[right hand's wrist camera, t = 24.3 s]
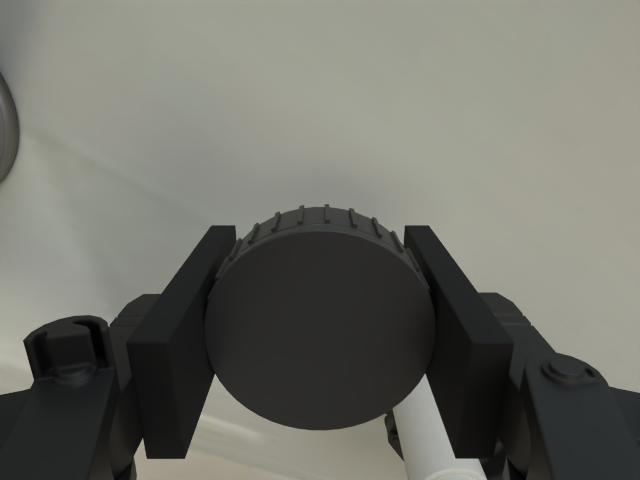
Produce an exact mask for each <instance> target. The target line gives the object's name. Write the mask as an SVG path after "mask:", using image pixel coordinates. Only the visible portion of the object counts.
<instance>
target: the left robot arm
mask: <svg viewBox="0 0 640 480" xmlns="http://www.w3.org/2000/svg"><path fill="white" fill-rule="evenodd" d="M386 414H387V416H386V417H385V419H384V421H385V425H386V429H387V434H388V442H389V444H390V445H391V446H392V447H393V449H394V450H395V451H396V452H397V454H398V455H399V456H400V457H401V459H402V460H403V461H404V458H403V453H402V449H401V444H400V440H399V435H398V431H397V427H396V422H395V418H394V413H393V409H391V410H390V411H388V412H386ZM506 456H507V454H506V452H505V450H504V448H503V446H502V444H501V442H500V440H499V438H498V436H497V442H496V447H495V452H494V458H493V459H479V462H480V464H481V466H482V469H483V471H484V474H485V476H486V478H487V480H502V476H503V471H504V466H505V461H506Z"/></svg>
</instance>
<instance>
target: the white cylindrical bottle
mask: <svg viewBox="0 0 640 480" xmlns="http://www.w3.org/2000/svg"><path fill="white" fill-rule="evenodd" d="M393 413H394V418H395V422H396V427H397V431H398V435H399V440H400V444H401V449H402V453H403V458H404V462H405V467H406V471H407V476H408V480H487V478H486V476H485V474H484V471H483V469H482V466H481V464H480V462H479V459H455V456H454V453H453V450H452V447H451V445H450V442H449V439H448V436H447V433H446V430H445V428H444V425H443V422H442V419H441V416H440V414H439V411H438V408H437V405H436V402H435V400H434V397H433V394H432V391H431V388H430V385H429V383H428V380H427V377H426V374H424V376H423V378H422V379H421V381H420V383H419V384H418V385H417V386H416V387H415V389H414V390H413V391H412V392H411V393H410V394H409V395H408V396H407V397H406V398H405V399H404V400H403V401H402V402H401V403H399V404H398V405H397V406H395V407H394V408H393Z"/></svg>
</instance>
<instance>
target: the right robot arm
mask: <svg viewBox="0 0 640 480" xmlns="http://www.w3.org/2000/svg"><path fill="white" fill-rule="evenodd" d="M18 137H19V128H18V118H17V113H16V108H15V104H14V101H13V98H12V95H11V93H10V91H9V88H8V86H7V84H6V82H5V80H4V78H3V76H2V74H1V73H0V182H1V181H2V180H3V179H4V177H5V176H6V175H7V173H8V171H9V170H10V168H11V166H12V164H13V161H14V159H15V155H16V152H17V147H18ZM235 244H236V229H235V226H211V227H210V228H209V230H208V231H207V233H206V234H205V235H204V237H203V238H202V239H201V241H200V242H199V243H198V245H197V246H196V247H195V249H194V250H193V252H192V253H191V254H190V256H189V257H188V258H187V260H186V261H185V262H184V264H183V265H182V267H181V268H180V269H179V271H178V272H177V273H176V275H175V276H174V277H173V279H172V280H171V282H170V283H169V284H168V286H167V287H166V288H165V290H164V291H163V292H162V294H143V295H142V296H140V297H138V298H137V299H135V300H133V301H132V302H130V303H128V304H127V305H126V306H125V308H124V309H123V310H122V311H121V312H120V313H119V315H118V317H116V318H115V319H114V320H113V322H112V323H111V324H110V327H108V324H107V322H106V321H105V320H103V319H102V318H101V317H96V316H91V315H85V316H72V317H68V318H63V319H59V320H56V321H53V322H51V323H48V324H45V325H43V326H41V327H40V328H38V329H36V330H34V331H33V332H31V333H30V334H29V335H28V336H27V337H26V338H25V339H24V340H23V342H24V346H25V349H26V353H27V356H28V360H29V363H30V367H31V371H32V374H33V378H34V382H33V384H32V386H31V388H30V389H27V390H23V391H18V392H13V393H8V394H3V395H0V480H136V477H137V474H136V466H135V461H134V455H135V453H136V451H137V448H138V446H139V444H140V442H141V440H142V438H143V440H144V445H145V451H146V456H147V459H185V457H186V454H187V451H188V448H189V445H190V443H191V440H192V437H193V434H194V431H195V428H196V426H197V423H198V420H199V417H200V414H201V412H202V409H203V406H204V403H205V400H206V397H207V395H208V392H209V389H210V386H211V383H212V381H213V378H214V375H215V372H214V370H213V368H212V366H211V363H210V361H209V359H208V355H207V351H206V346H205V336H204V316H205V312H206V307H207V303H208V302H207V298H208V296H209V294H210V292H211V290H212V288H213V286H214V284H215V282H216V281H215V280H214V279H215V277H216V275H217V273H218V271H219V269H220V267H221V265H222V263H223V262H224V260H225V258H226V256H227V257H229V256H230V254H231V252H232V250H233V248H234V246H235ZM404 248H405V249H407V248H409V249H410V250H411V252H412V254H413V256H414V258H415V260H416V262H417V264H418V266H419V268H420V269H421V272H422V274H423V276H424V278H425V280H426V281H427V283H428V285H429V287H430V290H431V292H429V294H430V297H431V300H432V303H433V306H434V310H435V315H436V322H437V329H436V339H435V348H434V353H433V356H432V360H431V362H430V364H429V367H428V369H427V371H426V373H425V374H426V377H427V380H428V383H429V385H430V388H431V391H432V394H433V397H434V400H435V402H436V405H437V408H438V411H439V414H440V416H441V419H442V422H443V425H444V428H445V430H446V433H447V436H448V439H449V442H450V445H451V447H452V450H453V453H454V456H455V459H493V458H494V452H495V447H496V442H497V436H498V438H499V440H500V442H501V444H502V446H503V448H504V450H505V452H506V454H507V456H506V461H505V466H504V471H503V476H502V480H640V393H637V392H632V391H627V390H622V389H617V388H613V387H609V385H608V383H607V382H606V380H605V379H604V377H603V376H602V375H601V374H600V373H599V371H598V370H596V369H595V368H593V367H592V366H590V365H589V364H587V363H586V362H583V361H581V360H579V359H576V358H574V357H572V356H568V355H564V354H559V353H556V352H555V351H554V350H553V348H552V347H551V346H550V345H549V344H548V343H547V341H546V340H545V339H544V338H543V337H542V336H541V335H540V333H539V332H538V331H537V330H536V329H535V328H534V326H531V323H530V322H529V321H528V319H527V318H526V317H525V316H523V314H522V312H521V311H520V310H519V309H518V308H517V307H516V305H515V304H514V303H513V302H511V301H510V300H508V299H506V298H505V297H503V296H501V295H500V294H498V293H478V292H477V291H476V289H475V288H474V287H473V285H472V284H471V282H470V281H469V280H468V278H467V277H466V276H465V274H464V273H463V272H462V270H461V269H460V268H459V266H458V265H457V263H456V262H455V261H454V259H453V258H452V257H451V255H450V254H449V253H448V251H447V250H446V248H445V247H444V246H443V244H442V243H441V242H440V240H439V239H438V238H437V236H436V235H435V233H434V232H433V231H432V229H431V228H430V227H429V226H405V233H404Z"/></svg>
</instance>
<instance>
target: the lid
mask: <svg viewBox="0 0 640 480" xmlns="http://www.w3.org/2000/svg"><path fill="white" fill-rule="evenodd" d="M214 280H215V281H216V282H215V284H214V286H213V288H212V290H211V292H210V294H209V296H208V298H207V302H208V303H207V307H206V312H205V316H204V336H205V346H206V351H207V355H208V359H209V361H210V363H211V366H212V368H213V370H214V372H215V374H216V375H217V377H218V379H219V381H220V382H221V383H222V384H223V386H224V387H225V388H226V390H227V391H228V392H229V393H230V394H231V395H232V396H233V397H234V398H235V399H236V400H237V401H238V402H240V403H241V404H242V405H244V406H245V407H246V408H248V409H249V410H251V411H252V412H254V413H256V414H257V415H259V416H261V417H263V418H266V419H268V420H270V421H272V422H275V423H278V424H281V425H284V426H289V427H293V428H298V429H306V430H334V429H342V428H347V427H352V426H356V425H359V424H362V423H365V422H368V421H370V420H373V419H375V418H377V417H379V416H381V415H383V414H385V413H386V412H388V411H390V410H391V409H393V408H394V407H395V406H397V405H398V404H399V403H401V402H402V401H403V400H404V399H405V398H406V397H407V396H408V395H409V394H410V393H411V392H412V391H413V390H414V389H415V387H416V386H417V385H418V384H419V383H420V381H421V379H422V378H423V376H424V374H425V373H426V371H427V369H428V367H429V364H430V362H431V360H432V356H433V353H434V348H435V339H436V329H437V322H436V315H435V310H434V306H433V303H432V300H431V297H430V294H429V292H431V290H430V287H429V285H428V283H427V281H426V280H425V278H424V276H423V274H422V272H421V269H420V268H419V266H418V264H417V262H416V260H415V258H414V256H413V254H412V252H411V250H410V249H409V248H407V249H405V248H404V246H403V245H402V243H401V242H400V241H399V239H398V237H397V235H396V233H395V232H394V231H392V232H389V231H388V230H387V229H386V228H384V227H383V226H382V225H380V224H378V221H377V219H376V218H374V217H373V218H372V219H370V218H367V217H365V216H363V215H360V214H358V213H355V212H354V209H352V208H350V209H349V211H347V210H344V209H338V208H330V207H329V204H325V207H311V208H304V205H302V206H300V207H299V209H297V210H293V211H289V212H285V213H283V214H280V212H277V213H276V214H275V217H273V218H271V219H269V220H267V221H265V222H264V223H262V224H260V225H259V224H258V223H256V224H255V225H254V227H253V229H252V231H251V232H250V233H249V234H248V235H247V236H246V237H244V238H243V239H241V238H239V239H238V240H237V242H236V244H235V246H234V248H233V250H232V252H231V254H230V256H229V257H227V256H226V258H225V260H224V262H223V263H222V265H221V267H220V269H219V271H218V273H217V275H216V277H215V279H214Z"/></svg>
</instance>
